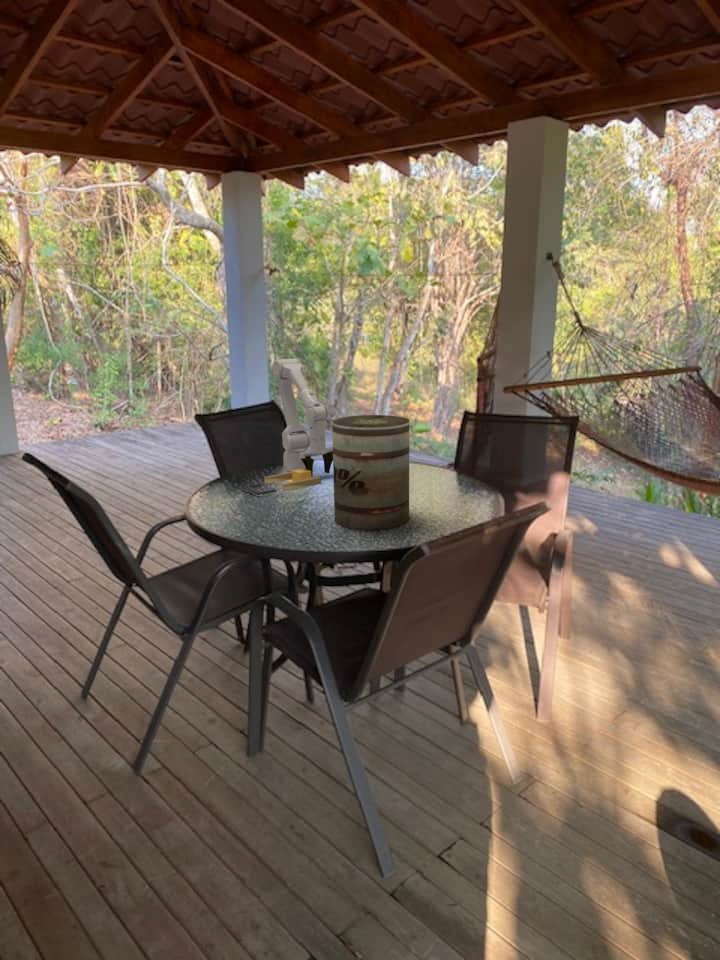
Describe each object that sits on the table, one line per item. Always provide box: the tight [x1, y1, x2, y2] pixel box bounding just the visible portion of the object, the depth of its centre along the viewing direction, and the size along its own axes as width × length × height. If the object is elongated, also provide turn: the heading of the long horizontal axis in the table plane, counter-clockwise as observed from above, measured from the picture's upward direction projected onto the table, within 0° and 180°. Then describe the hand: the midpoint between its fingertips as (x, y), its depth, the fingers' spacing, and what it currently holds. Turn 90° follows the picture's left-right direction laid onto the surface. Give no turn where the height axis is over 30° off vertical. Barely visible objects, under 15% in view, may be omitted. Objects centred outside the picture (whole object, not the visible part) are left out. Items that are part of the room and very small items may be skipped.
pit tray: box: [241, 483, 276, 495], centre depth 233 cm, size 11×7×1 cm, turn 38°
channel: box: [263, 472, 322, 492], centre depth 241 cm, size 14×15×3 cm
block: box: [292, 469, 312, 482], centre depth 243 cm, size 5×5×4 cm
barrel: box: [331, 414, 410, 532], centre depth 197 cm, size 22×22×30 cm
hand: (318, 474), depth 248 cm, fingers open, 7 cm apart
